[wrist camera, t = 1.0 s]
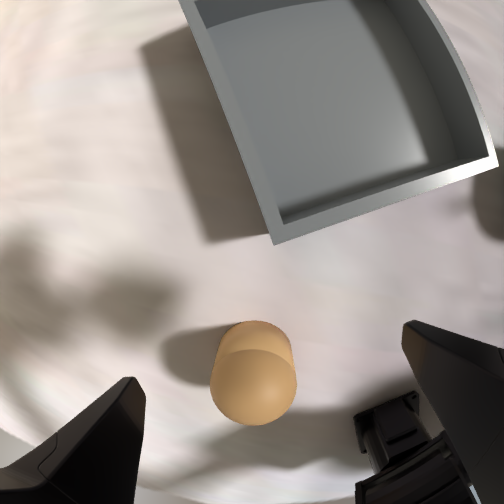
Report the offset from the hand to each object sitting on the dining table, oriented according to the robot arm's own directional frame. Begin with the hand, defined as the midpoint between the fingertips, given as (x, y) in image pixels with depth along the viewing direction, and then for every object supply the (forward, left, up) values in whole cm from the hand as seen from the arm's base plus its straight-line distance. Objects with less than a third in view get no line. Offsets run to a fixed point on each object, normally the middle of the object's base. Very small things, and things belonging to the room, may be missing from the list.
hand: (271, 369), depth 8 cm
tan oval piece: (-6, +3, -11) cm, 13 cm away
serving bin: (+10, -9, -11) cm, 18 cm away
